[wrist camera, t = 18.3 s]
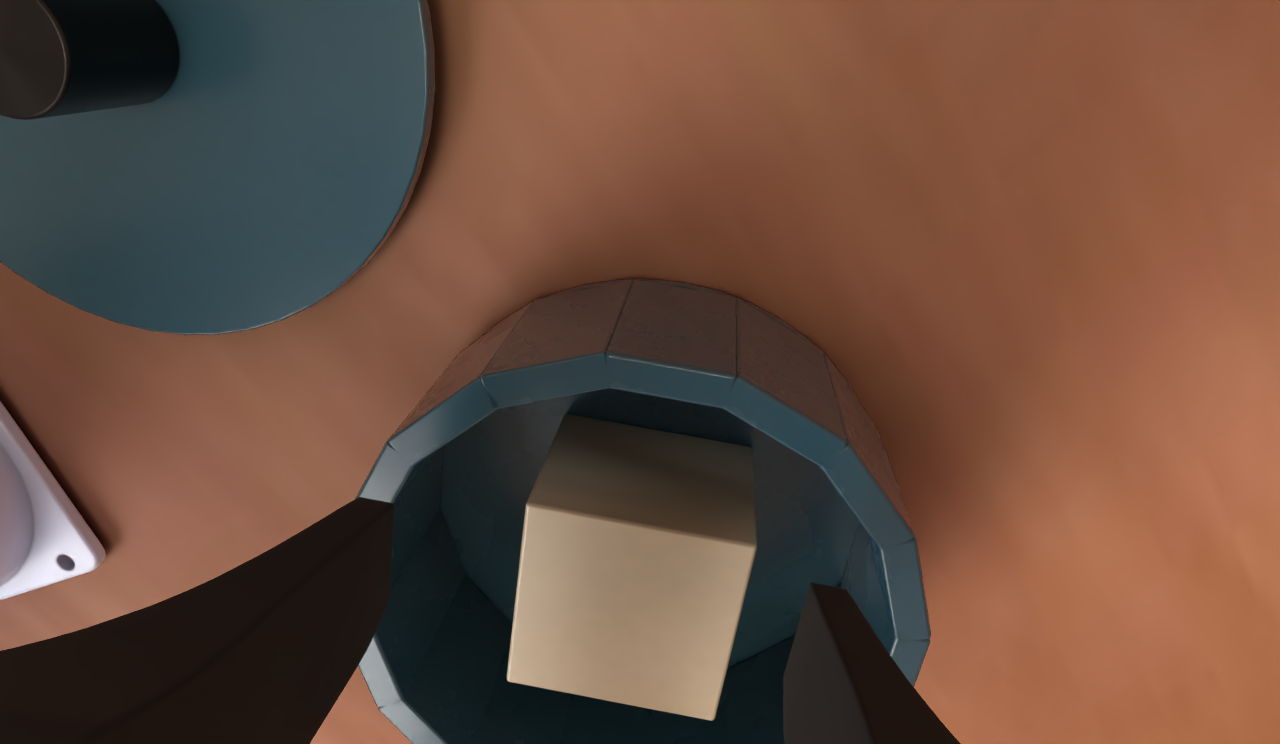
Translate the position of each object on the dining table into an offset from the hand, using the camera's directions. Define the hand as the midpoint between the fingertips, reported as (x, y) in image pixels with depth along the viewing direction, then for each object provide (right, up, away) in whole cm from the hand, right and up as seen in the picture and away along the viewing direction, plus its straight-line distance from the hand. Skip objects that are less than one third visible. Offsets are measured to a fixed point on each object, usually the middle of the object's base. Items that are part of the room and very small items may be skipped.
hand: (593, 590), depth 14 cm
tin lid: (-10, +11, +3) cm, 15 cm away
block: (+1, 0, +7) cm, 7 cm away
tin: (+1, 0, +7) cm, 7 cm away
